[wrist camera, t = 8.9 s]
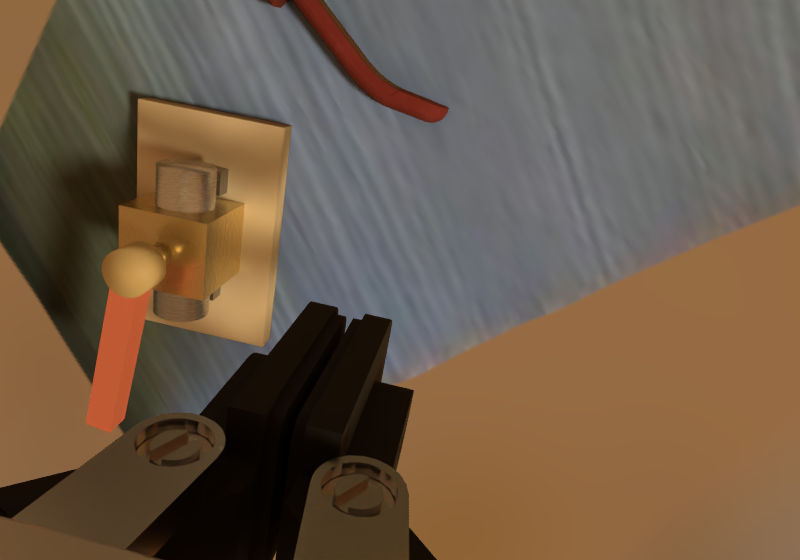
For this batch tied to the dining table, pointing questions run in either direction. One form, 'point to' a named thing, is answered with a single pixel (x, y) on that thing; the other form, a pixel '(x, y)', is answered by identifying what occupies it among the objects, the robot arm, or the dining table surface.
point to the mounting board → (247, 183)
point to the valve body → (187, 235)
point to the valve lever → (122, 328)
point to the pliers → (364, 64)
